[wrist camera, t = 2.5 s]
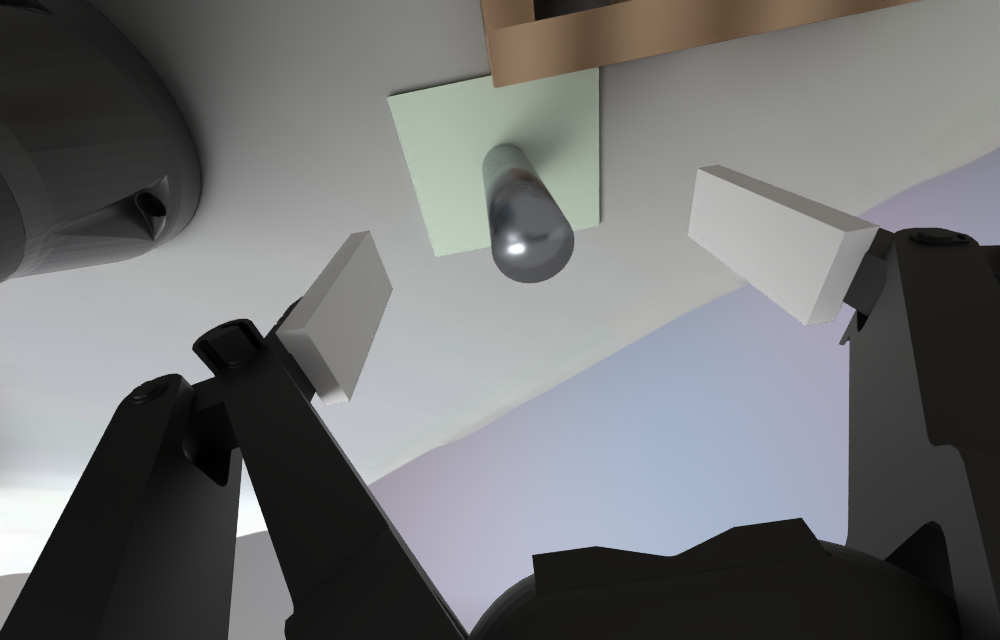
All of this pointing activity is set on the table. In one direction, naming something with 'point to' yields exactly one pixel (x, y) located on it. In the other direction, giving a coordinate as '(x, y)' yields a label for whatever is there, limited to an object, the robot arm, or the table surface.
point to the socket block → (635, 30)
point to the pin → (523, 218)
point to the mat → (485, 124)
